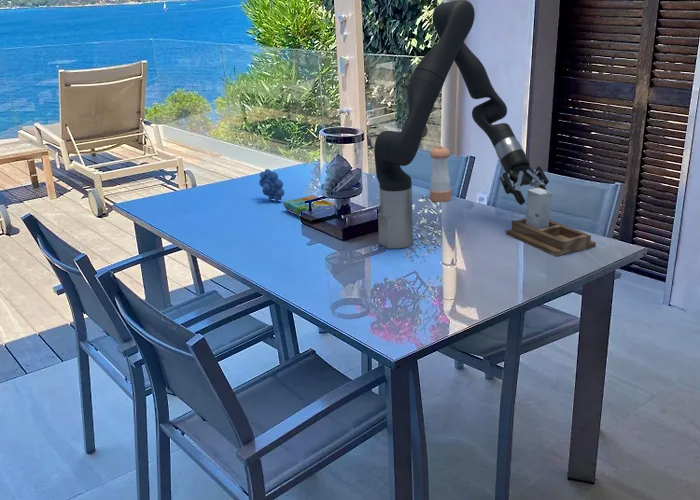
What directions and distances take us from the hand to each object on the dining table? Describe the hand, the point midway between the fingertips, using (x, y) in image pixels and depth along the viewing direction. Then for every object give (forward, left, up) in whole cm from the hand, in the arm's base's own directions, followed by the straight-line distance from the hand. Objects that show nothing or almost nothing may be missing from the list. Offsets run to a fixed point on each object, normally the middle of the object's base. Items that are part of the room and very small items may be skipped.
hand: (534, 201), depth 201 cm
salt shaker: (-3, +47, -10) cm, 48 cm away
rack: (0, -7, -10) cm, 12 cm away
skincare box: (+1, -1, -9) cm, 9 cm away
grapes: (-55, +80, -10) cm, 98 cm away
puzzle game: (-48, +57, -11) cm, 75 cm away
